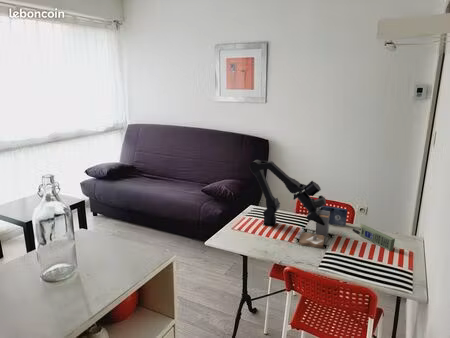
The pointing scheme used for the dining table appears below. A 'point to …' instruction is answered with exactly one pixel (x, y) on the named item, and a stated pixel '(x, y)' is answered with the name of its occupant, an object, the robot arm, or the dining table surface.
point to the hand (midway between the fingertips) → (325, 222)
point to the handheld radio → (376, 237)
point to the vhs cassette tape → (336, 215)
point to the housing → (325, 217)
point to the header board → (311, 240)
